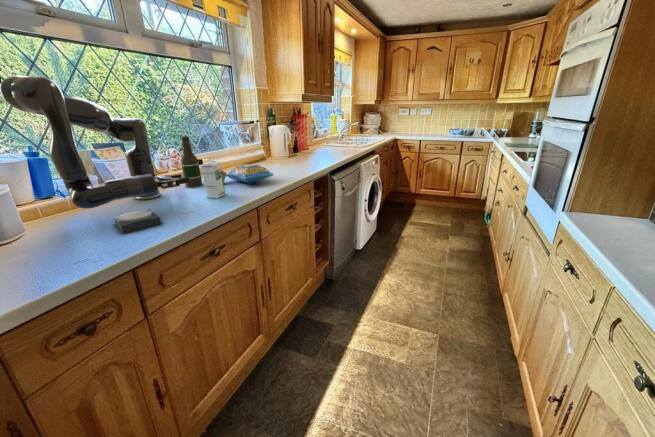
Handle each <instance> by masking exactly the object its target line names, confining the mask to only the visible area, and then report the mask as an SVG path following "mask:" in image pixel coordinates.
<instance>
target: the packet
mask: <svg viewBox="0 0 655 437" xmlns="http://www.w3.org/2000/svg"><path fill="white" fill-rule="evenodd" d="M226 173H227V176H226V177H228V178H229V179H231V180H233V181H237V182H241V183H245V184H248V185H251V184H254V183H256V182H257V181H261V180H265V179H267V178H268V179H269V178H270V177H273V176H274V175H275V173H273V172H271V171H270V170H269V169H268V168H266V167H265V166H261V165H259V164H251V165H249V164H247V165H237V166H235V167H233V168H232V169H231V170H230V171H228V172H226Z"/></svg>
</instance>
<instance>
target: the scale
mask: <svg viewBox="0 0 655 437" xmlns="http://www.w3.org/2000/svg"><path fill="white" fill-rule="evenodd" d="M113 219H114V223H115V225H116V227H117V228H118V229H119V230H120V231H121V233H122V234H128V233H132V232H136V231H140V230H145V229H148V228H152V227H156V226H159V225H162V220H161V217H160V216H159V215H158V214H157V213H156V212H154V211H152V210H151V209H149V208H148V209H139V210H132V211H128V212H125V213H123V214H120V215H117V216H113Z"/></svg>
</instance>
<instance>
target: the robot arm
mask: <svg viewBox="0 0 655 437" xmlns="http://www.w3.org/2000/svg"><path fill="white" fill-rule="evenodd" d="M0 95H1V97H2V98H3V99H4V101H5V102H6V103H7V104H8V105H9V106H10V107H12V108H14V109H16V110H18V111H20V112H24V113H29V114H36V115H40V116H45V117H46V120H47V121H48V123H49V125H50V131H51V138H50V143H49V157H50V160H51V162H52V164H53V166H54V169H55V170H56V172H57V174H58V176H59V177H60V179H61V180H62V182H63V184H64V187H65V189H66V191H67V193H68V195H69V198H70V200H71V203H72V204H73V205H74V206H75V207H76V208H78V209H95V208H97V207H98V208H99V207H100V206H103V205H106V204H109V203H112V202H113V201H117V200H123V199H128V198H129V199H130V198H135V199H136V200H139V201H141V200H143V201H144V200H151V199H155V198H158V197H160V196H161V192H160V189H159V188H161V189H163V190H165V189H171V188H177V187H181V186H180V185H184V184H185V183H189V182H190V181H189V178H188V177H184V176H182V174H181V173H177V174H172V175H171V174H164V175H157V176H156V172H155V167H154V163H153V159H152V153H151V144H150V140H149V132H148V129H147V126H146V123H145V122H144V120H142V119H141V118H139V117H128V118H127V117H126V118H118V117H117V118H116V117H112V116H111V114H110V112H109V111H108V110H107V109H106V108H105V107H104V106H102V105H100V104H97V103H96V102H93V101H90V100H87V99H84V98H80V97H74V96H70V95H65V94H63V92H62V90H61V88H60V86H58V84H57V83H56V82H55V81H54V80H52V79H50V78H48V77H43V76H31V75H12V76H8V77H6V78H4V79H2V81H1V82H0ZM72 125H73V126H77V127H79V128H81V129H85V130H89V131H92V132H96V133H99V134H104V135H107V136H109V137H111V138H114V139H116V140H118V141H120V142H124V143H125V142H126V143H131V142H134V146H133V148H132V149H131V148H130V149H129V150H127V151H125V153H124V156H125V160H126V164H127V168H128V172H129V175H130V176H127V177H126V176H125V177H123V178H116V179H109V180H106V181H105V182H103V185H99V186H96V187H94V185H93V184H92V181H91V179H90V178H89V175H88V171H87V167H86V166H85V163H84V161H83V159H82V156H81V154H80V152H79V150H78V147H77V144H76V140H75V136H74V134H73V127H72ZM174 182H175V183H174Z"/></svg>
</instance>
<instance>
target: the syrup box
mask: <svg viewBox="0 0 655 437" xmlns="http://www.w3.org/2000/svg"><path fill="white" fill-rule="evenodd" d="M200 167H201V168H200V170H201V175H202V179H203V183H204V188H205V193H206V198H208V199H220V198H221V197H223V196H225V195H226V188H225V182H224V183H223V177H222V171H223V170H222V167H221V162H220V161H213V162H212V161H209V162H206V163H203V164H200ZM221 170H222V171H221Z"/></svg>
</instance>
